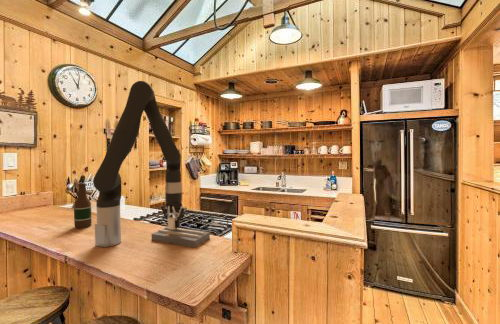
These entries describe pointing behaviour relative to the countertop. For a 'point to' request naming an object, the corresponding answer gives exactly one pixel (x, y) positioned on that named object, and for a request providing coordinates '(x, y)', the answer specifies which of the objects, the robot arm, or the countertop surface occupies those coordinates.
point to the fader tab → (172, 223)
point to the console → (181, 236)
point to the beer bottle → (82, 208)
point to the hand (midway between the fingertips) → (174, 227)
